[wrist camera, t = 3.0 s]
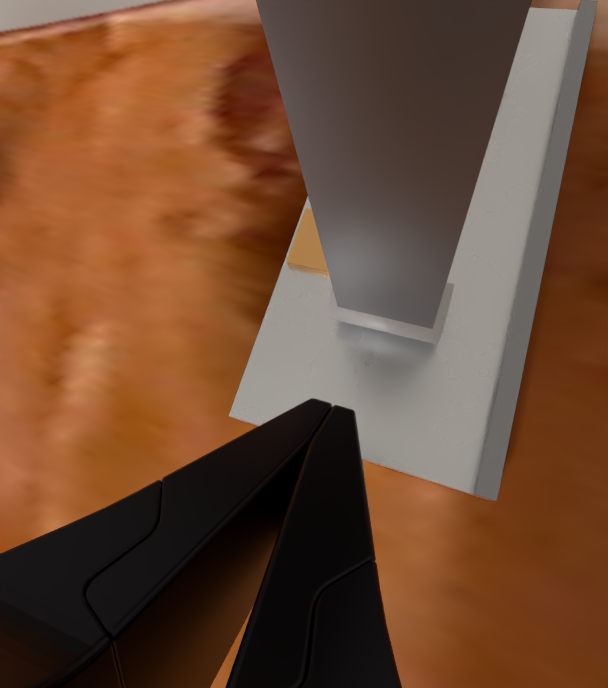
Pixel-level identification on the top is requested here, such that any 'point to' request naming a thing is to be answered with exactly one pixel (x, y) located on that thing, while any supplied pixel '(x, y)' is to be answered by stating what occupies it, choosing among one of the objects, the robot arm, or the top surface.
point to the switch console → (466, 302)
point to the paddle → (391, 139)
